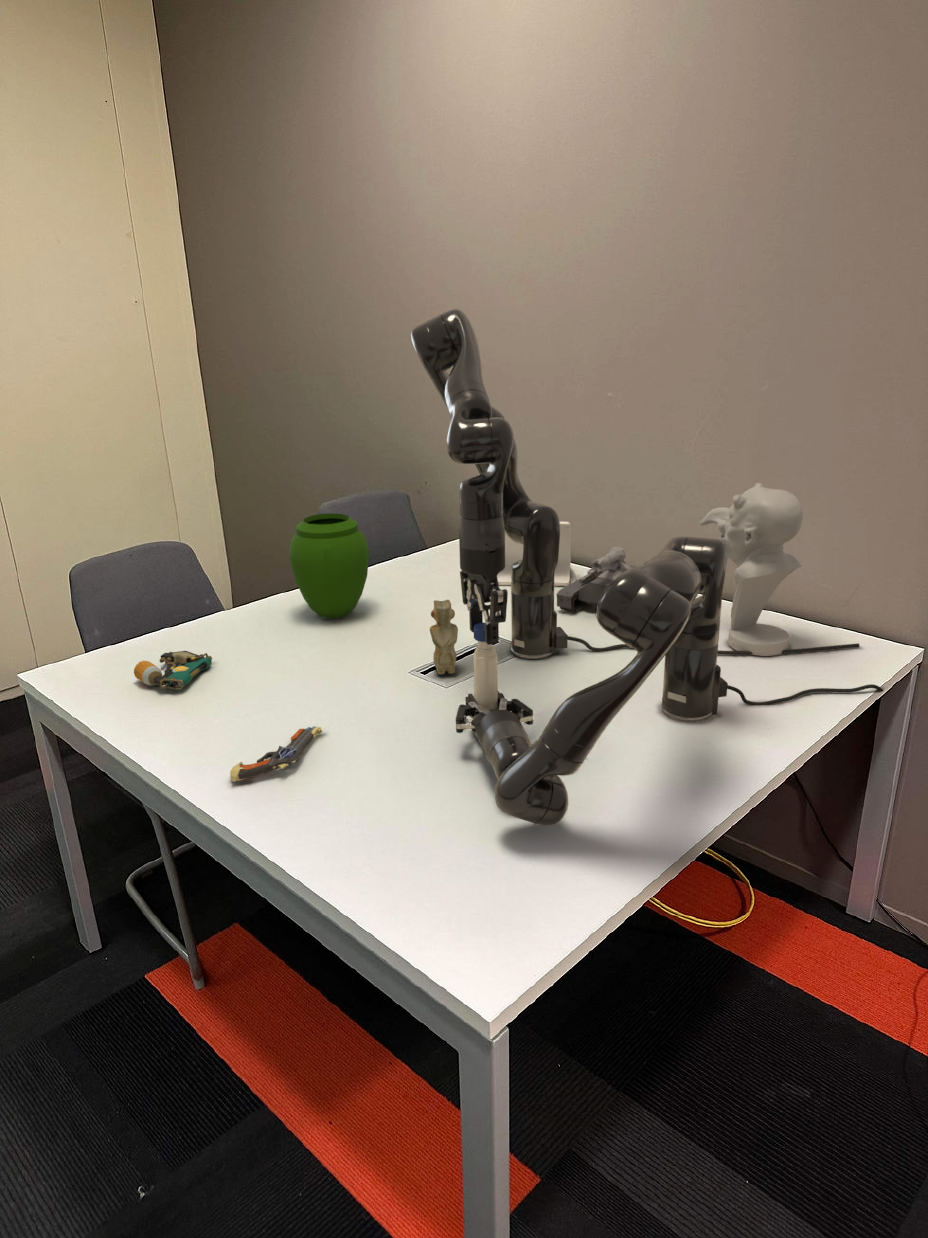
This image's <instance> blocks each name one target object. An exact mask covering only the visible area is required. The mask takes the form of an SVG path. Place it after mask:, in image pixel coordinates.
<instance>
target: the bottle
mask: <svg viewBox="0 0 928 1238" xmlns="http://www.w3.org/2000/svg"><path fill="white" fill-rule="evenodd" d="M472 659H473V689H474V692H473V696H474V698H475V701H476V704H477V705H482V706H483V707H484V708H485V709H487V710H492V709H497V708H498V691H499V683H498V681H499V680H498V679H499V677H498V675H499V674H498V653H497V651H496V649H495V647H494V644H490V645H488V644H487V643H486V642H480V641H477V646H476V648H475V649H474V652H473V658H472ZM475 737H476V738H477V739H478V737H477V734H476V733H475Z"/></svg>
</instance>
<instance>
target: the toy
mask: <svg viewBox="0 0 928 1238" xmlns="http://www.w3.org/2000/svg"><path fill="white" fill-rule="evenodd" d="M626 557H627V556H626V551H625V549H624V548H622V547H621V546H614V547H612V548H611V549H610V550H609V552H608V553H607V554H605V555H604V556H601V557H599V558H598V559H597V557H596V558H594V559H593V560H592V561H590V562H589V563H590V564H591V565H592V567H591V568H590V569H589V570H587V573H586V575H584V576H582V577H580V578H578V579H577V580H575V581H573V582H570V583H569V585H567V586H563V587H562V588H560V589H559V590H558V591H557V592H556V607H558V608H559V609H560V610H562V611H566V612H572V613H575V612H577V611H579V610H581V609H582V608H585V607H586V606H588V605H592V606H598V603H599V600H600V598H601V596H602V594H603V593H604V591H605V590H606V588H607V587H608V586H609V585H610V583H611V582H612V581H613V580H614V579H615V578H617V577H618V576H619V575H620V574H622V573H623V572H625V571H627V570H628V569H631V568H634V567H637V566H635V565H629V564H628V563H627V562H626V561H625V559H626Z"/></svg>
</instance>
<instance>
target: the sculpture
mask: <svg viewBox="0 0 928 1238" xmlns="http://www.w3.org/2000/svg"><path fill="white" fill-rule="evenodd" d="M455 615H456V611H455V609H453V608H452V602H451V601H450V599H445V600H433V610H431V612H430V617H431V618H432V619H433V620H434V621H435V622H436V623H435V624H433V625H431V626H429V633H430V636H431V640H432V641H431V642H432V643H433V645H434V648H435V649H434V652H433V656H432V657H433V659H432V660H433V665H434V667H435V668H436V671H437V674H438V675H445V674H446V672H447V673H448V674H455V673H456V666H457V665H456V663H457V652H456V649H455V644H456V643H457V642H458V637H459V635H458V634H459V627H458V626H457V624H455V623H453V622H451V621H452V620H453V619H454V618H455Z"/></svg>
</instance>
